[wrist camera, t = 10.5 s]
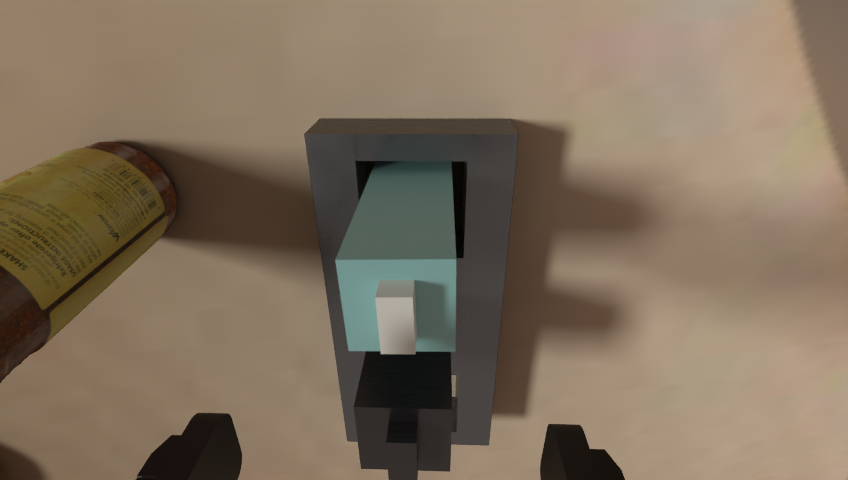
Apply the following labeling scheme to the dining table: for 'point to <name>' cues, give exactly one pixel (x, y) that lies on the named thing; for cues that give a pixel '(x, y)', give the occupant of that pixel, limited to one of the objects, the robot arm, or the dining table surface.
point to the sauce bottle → (73, 237)
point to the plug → (401, 261)
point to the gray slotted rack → (475, 288)
